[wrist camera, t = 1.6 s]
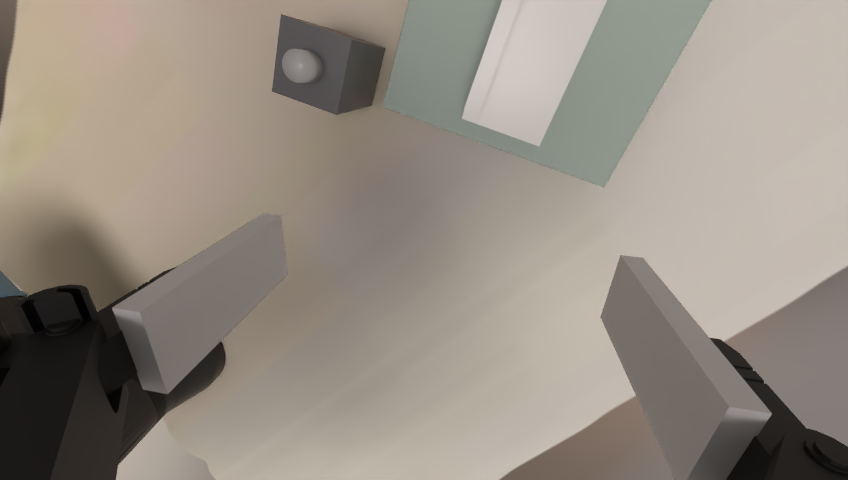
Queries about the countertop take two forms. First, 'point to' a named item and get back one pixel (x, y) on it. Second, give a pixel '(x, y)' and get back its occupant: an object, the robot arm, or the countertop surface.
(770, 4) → the countertop surface
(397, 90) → the socket plate
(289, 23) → the plug
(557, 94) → the panel
